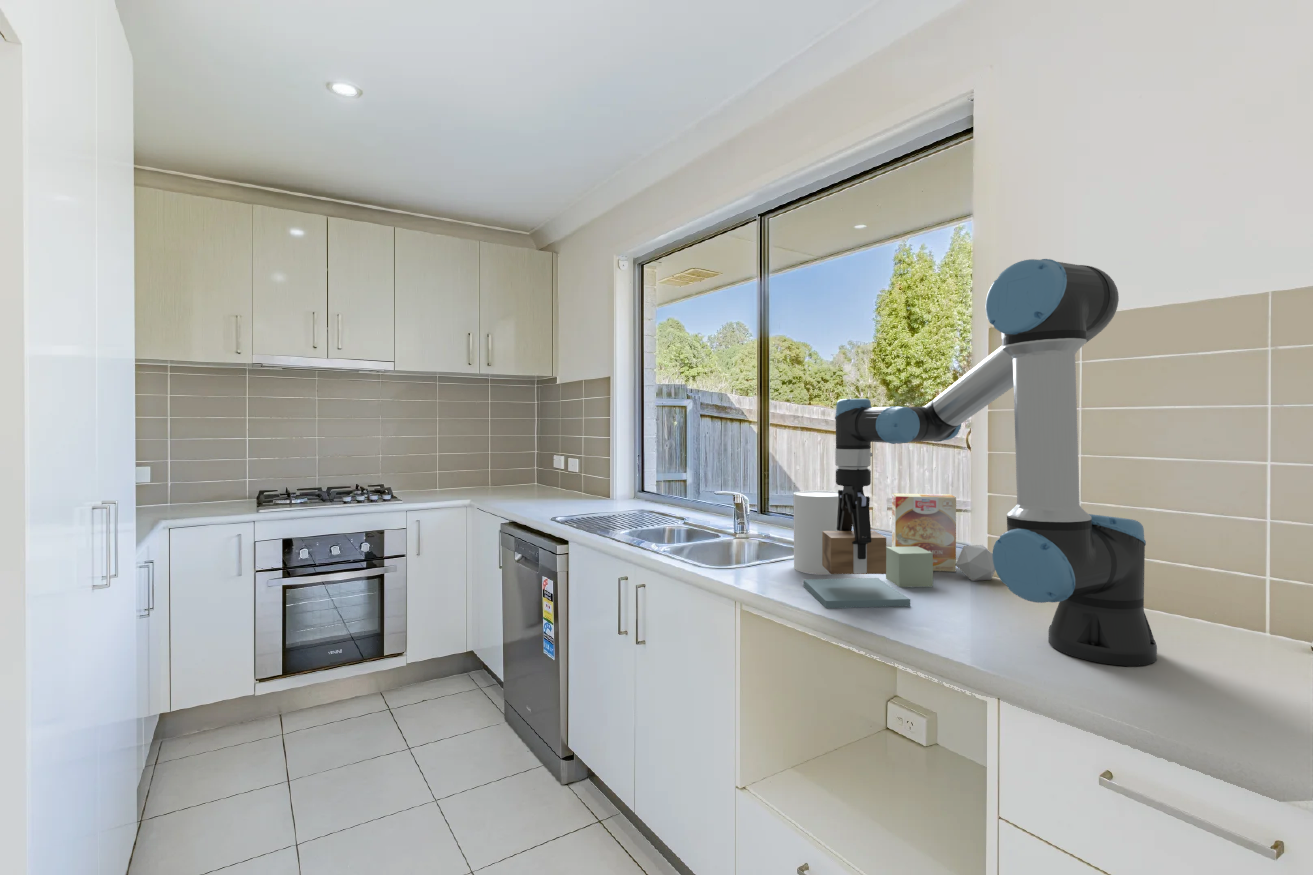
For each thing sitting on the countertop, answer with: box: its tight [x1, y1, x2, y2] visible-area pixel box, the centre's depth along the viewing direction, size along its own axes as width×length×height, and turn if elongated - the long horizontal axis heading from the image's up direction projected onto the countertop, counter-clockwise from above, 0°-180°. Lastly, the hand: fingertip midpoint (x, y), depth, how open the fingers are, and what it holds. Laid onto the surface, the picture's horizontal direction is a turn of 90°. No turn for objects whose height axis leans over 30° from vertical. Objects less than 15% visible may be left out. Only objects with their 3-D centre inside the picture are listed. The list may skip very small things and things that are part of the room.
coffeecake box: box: [891, 492, 957, 573], centre depth 168 cm, size 15×7×20 cm, turn 77°
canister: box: [793, 490, 838, 576], centre depth 169 cm, size 14×14×20 cm
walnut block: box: [822, 530, 887, 575], centre depth 143 cm, size 8×12×8 cm, turn 89°
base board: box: [802, 577, 911, 609], centre depth 143 cm, size 18×18×2 cm
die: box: [956, 544, 996, 582], centre depth 156 cm, size 8×9×10 cm
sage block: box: [885, 546, 934, 588], centre depth 154 cm, size 8×8×8 cm
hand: (853, 568), depth 143 cm, fingers closed on walnut block, 8 cm apart
